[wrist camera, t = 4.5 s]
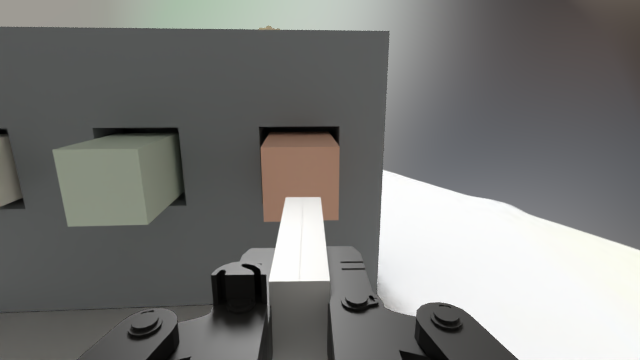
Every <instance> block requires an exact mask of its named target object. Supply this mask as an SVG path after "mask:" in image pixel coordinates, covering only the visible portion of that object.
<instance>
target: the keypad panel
mask: <svg viewBox="0 0 640 360" xmlns="http://www.w3.org/2000/svg"><path fill="white" fill-rule="evenodd" d="M388 50H389V31H335V30H334V31H332V30H331V31H330V30H245V29H244V30H243V29H156V28H152V29H151V28H67V27H65V28H64V27H63V28H62V27H61V28H60V27H0V134H8V136H9V140H10V144H11V148H12V153H13V157H14V161H15V165H16V170H17V174H18V178H19V183H20V187H21V191H22V195H23V198H21V199H18V200H16V201H13V202H11V203H8V204H6V205H4V206H1V207H0V313H4V312H29V311H55V310H81V309H106V308H132V307H158V306H183V305H209V304H213V295H212V284H211V274H212V273H213V272H214V271H215V270H216V269H217V268H219V267H221V266H223V265H226V264H229V263H232V262H240V260H241V257H242V255H243V254H244V253H246V252H247V251H248V250H249V249H251V248H276V243H277V238H278V233H279V228H280V223H281V221H280V222H264V213H263V191H262V169H261V146H262V144H263V143H264V141H265V139H266V138H267V136H268V134H269V133H270V132H329V133H330V134H331V136H332V137H333V138H334V140H335V141H336V143H337V144H338V145H339V147H340V154H339V219H338V220H323V223H324V232H325V241H326V246H353V247H354V248H355V249H356V250H357V251H359V252H360V253H361V256H362V260H363V263H364V266H365V270H366V272H367V276H368V279H369V282H370V285H371V289H372V292H373V293H375V294H376V295H377V275H378V255H379V235H380V214H381V194H382V173H383V151H384V131H385V111H386V90H387V71H388ZM116 133H179V139H180V149H181V158H182V168H183V177H184V187H185V191H184V192H183V193H182V194H181V195H180V196H179V197H177V198H176V199H175V200H174V201H173V202H172V203H171V204H170V205H169V206H168V207H167V208H166V209H164V210H163V211H162V212H161V213H160V214H159V215H158V216H157V217H156V218H155V219H154V220H153V221H151V222H150V223H149V224H148V225H115V226H74V227H68V225H67V220H66V215H65V210H64V205H63V200H62V195H61V190H60V185H59V180H58V175H57V170H56V165H55V161H54V156H53V151H52V150H53V149H57V148H61V147H65V146H69V145H73V144H77V143H81V142H85V141H89V140H93V139H97V138H101V137H105V136H109V135H113V134H116Z"/></svg>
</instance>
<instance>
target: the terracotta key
mask: <svg viewBox="0 0 640 360" xmlns="http://www.w3.org/2000/svg"><path fill="white" fill-rule="evenodd" d="M339 154H340V147H339V145H338V144H337V143H336V141H335V140H334V138H333V137H332V136H331V134H330V133H329V132H270V133H269V134H268V136H267V138H266V139H265V141H264V143H263V144H262V146H261V169H262V191H263V213H264V222H280V221H281V218H282V213H283V208H284V203H285V198H286V197H321V205H322V214H323V220H338V219H339Z"/></svg>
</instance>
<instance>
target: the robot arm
mask: <svg viewBox="0 0 640 360" xmlns="http://www.w3.org/2000/svg"><path fill="white" fill-rule="evenodd" d="M211 284H212V295H213V307H212V309H211V312H210V313H209V314H207V315H204V316H201V317H198V318H195V319H190V320H186V321H181V322H178V320H177V315H176V314H175V313H174V312H173V311H172V310H168V309H165V308H152V309H146V310H142V311H140V312H137V313H135V314H132V315H130V316H129V317H127V318H126V319H124V320H123V321H121V322H120V323H119V324H118V325H116V326H115V327H114V328H113V329H112V330H111V331H109V332H108V333H107V334H106V335H105V336H104V337H102V338H101V339H100V340H99V341H98V342H97V343H95V344H94V345H93V346H92V347H91V348H90V349H89V350H87V351H86V352H85V353H84V354H83V355H82V356H80V357H79V358H78V359H77V360H518V359H517V358H516V357H515V356H514V355H513V354H512V353H511V352H509V351H508V350H507V349H506V348H505V347H504V346H503V345H502V344H501V343H500V342H499V341H498V340H497V339H495V338H494V337H493V336H492V335H491V334H490V333H489V332H488V331H487V330H486V329H485V328H484V327H482V326H481V325H480V324H479V323H478V322H477V321H476V320H475V319H474V318H473V317H472V316H471V315H469V314H468V313H467V312H465V311H464V310H462V309H460V308H458V307H456V306H453V305H451V304H446V303H440V302H438V303H428V304H425V305H422V306H421V307H420V308H419V309H418V310H417V314H416V317H415V316H410V315H405V314H400V313H397V312H393V311H391V310H389V309H386V308H385V307H384V305H383V302H382V301H381V299H380V298H379V296H377V295H376V294H375V293H373V292H372V289H371V285H370V282H369V279H368V276H367V272H366V270H365V266H364V263H363V260H362V256H361V253H360V252H359V251H357V250H356V249H355V248H354V247H353V246H326V241H325V232H324V223H323V214H322V205H321V197H286V198H285V203H284V208H283V213H282V218H281V223H280V228H279V233H278V238H277V243H276V248H251V249H249V250H248V251H247V252H246V253H244V254H243V255H242V257H241V260H240V262H232V263H229V264H226V265H223V266H221V267H219V268H217V269H216V270H215V271H214V272H213V273H212V274H211Z"/></svg>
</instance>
